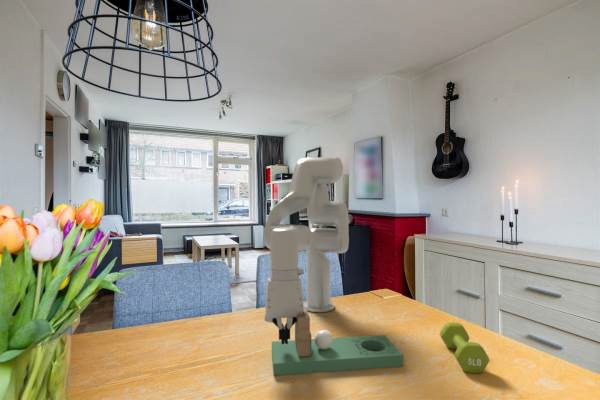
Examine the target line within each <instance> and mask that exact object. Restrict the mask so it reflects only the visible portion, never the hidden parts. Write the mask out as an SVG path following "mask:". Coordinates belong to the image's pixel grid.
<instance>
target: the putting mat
mask: <svg viewBox="0 0 600 400" xmlns="http://www.w3.org/2000/svg"><path fill="white" fill-rule="evenodd" d="M271 360H272V373H273V376H286V375H298V374H299V375H300V374H302V375H303V374H312V373H313V374H314V373H315V374H316V373H327V372H341V371H342V372H344V371H353V370H354V371H355V370H367V369H368V370H369V369H371V370H372V369H383V368H385V369H386V368H396V367H397V368H398V367H400V368H401V367H403V366H404V355H403V353H402V352H401V351H400V349H398V348H397V346H396V345H395V344H394V343H393V342H392V341H391V339H390V338H388V337H387V335H386V334H379V335H364V336H363V335H362V336H361V335H360V336H348V337H347V336H345V337H341V336H340V337H333V343H332V345H331V347H330V348H328V349H326V350H322V349H320V348H318V347H317V345H316V344H315V338H313V339H312V338H311V354H310V356H302V357H298V353H297V349H296V345H295V339H294V340H293V339H292V340H291V339H288V344H282V341H281V340H274V341H271Z"/></svg>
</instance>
